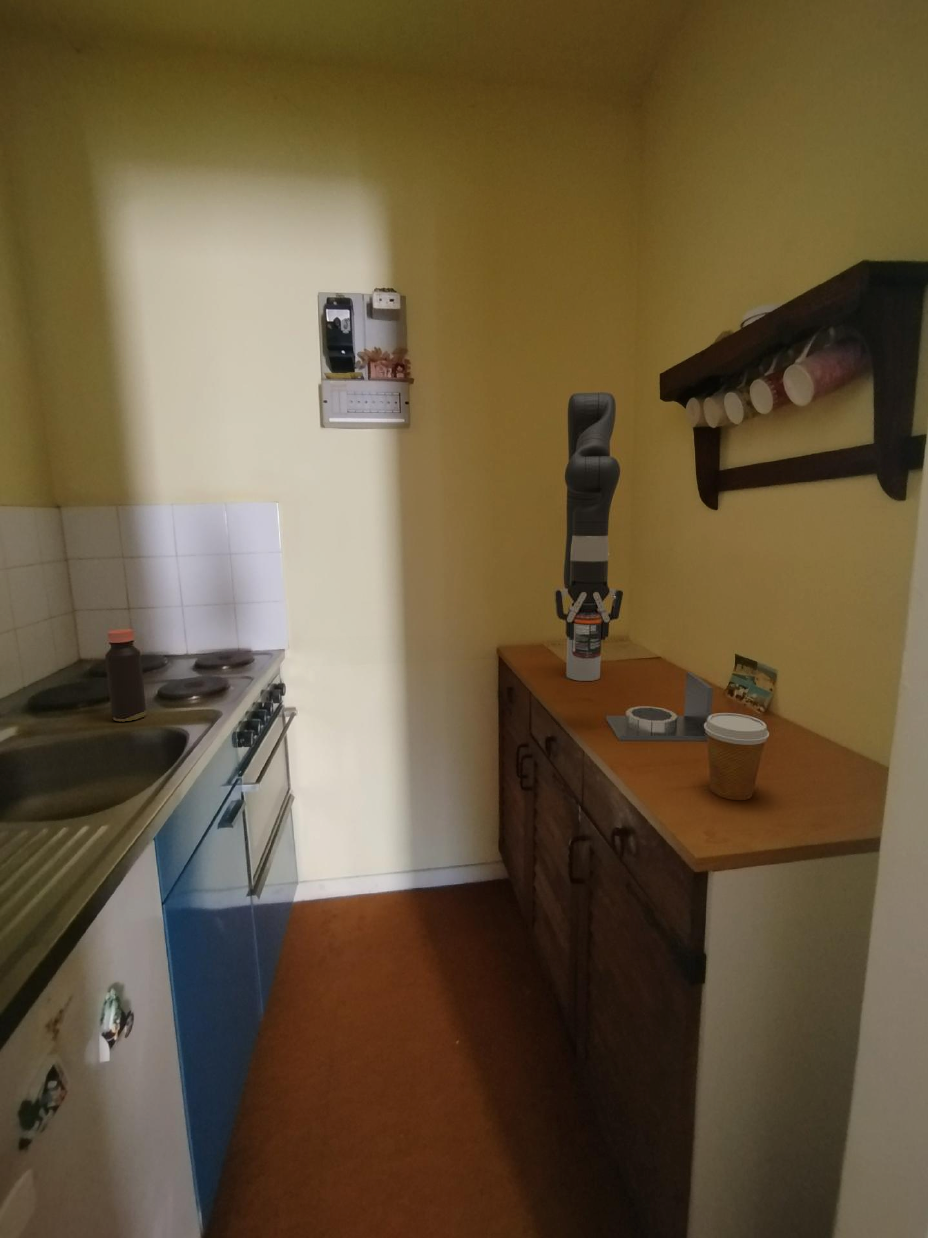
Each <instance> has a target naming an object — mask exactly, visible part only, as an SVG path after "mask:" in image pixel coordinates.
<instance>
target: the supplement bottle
mask: <svg viewBox="0 0 928 1238" xmlns="http://www.w3.org/2000/svg"><path fill="white" fill-rule="evenodd" d="M573 622H574V632H573V640H572V654H573V655H574V656H575V657H578V658H584V659H589V658H597V657H599V656H600V655H602V640H601V631H602V616H601V614H600V613H599V612H598V610H597V604H596V603H582V605H581V606H580V608H579V610H578V612H577V613H576V615H575V617H574V619H573Z"/></svg>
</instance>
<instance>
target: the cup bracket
mask: <svg viewBox="0 0 928 1238" xmlns="http://www.w3.org/2000/svg"><path fill="white" fill-rule="evenodd" d="M685 679H686V680H685V681H686V682H685V695H684V696H685V697H684V709H683V710H684V711H683V715H677V714H676V713H675V712H674V711H671V710H669V709H667V708H663V707H656V706H650V705H649V706H647V705H646V706H644V705H643V706H634V707H630V708H628V709H627V710H626V711H625V715H606V717H605V718H606V719H605V720H606V722H607V723H608V725H609V727H610V728H611V729H612V732H614V734H615V736H616V738H617V740H618V741H643V742H644V741H648V742H649V741H658V742H659V741H661V742H662V741H663V742H665V741H672V742H673V741H676V742H679V741H680V742H685V741H686V742H690V741H691V742H707V733H706V731H705V728H704V724H705V723H706V722H707V719H708V717H709V716H710V715H712V712H713V711H712V710H713V699H714V698H713V697H714V687H713V686H712V685H710V684H708V682H705V680H703V679H702V678H700V677H699V676H697V675H696V674H695V673H694V672H691V671H687V672H686V678H685Z"/></svg>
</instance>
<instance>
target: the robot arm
mask: <svg viewBox="0 0 928 1238" xmlns="http://www.w3.org/2000/svg"><path fill="white" fill-rule="evenodd" d="M616 406H617V404H616V398H615V396H614V395H613V394H611V393H610V392H603V391H602V392H601V391H600V392H579V393H577V392H576V393H573V394H571V396H570V397H569V399H568V405H567V441H568V442H567V443H568V446H567V449H568V462H567V464H566V467H565V471H564V472H565V473H564V482H565V486H566V537H565V538H566V540H565V551H564V552H565V553H564V564H563V585H564V589H563V588H562V589H558V588H557V589H555V590H554V591H553V592H554V593H553V595H554V601H555V602H554V603H555V609H556V616H557V618H558V619H559V620H563V621H565V632H564V633H565V637H566V638H567V639H566V641H567V644H566V671H565V673H566V674H565V675H566V676H565V677H566V678H568V679H570V680H574V681H577V682H578V681H579V682H593V681H597V680H599V679H600V677H601V658H602V657H601V655H602V654H601V655H600V656H599V657H597V658H589V659H584V658H578V657H575V656H574V655H573V654H572V640H573V632H574V622H573V619H574V617H575V615H576V613H577V612H578V610H579V608H580V606H581V605H582V603H596V604H597V610H598V612H599V613H600V614H601V616H602V631H601V641H605V640H606V638H608V637H609V634H610V633H609V632H610V630H609V629H610V622H611V621H613V620H618V619H619V616H620V611H621V607H622V602H623V596H624V592H623V591H622V590H621V589H618V588H616V589H613V588H610V586H609V584H608V580H609V579H608V577H609V576H608V573H609V558H610V551H609V550H610V548H609V547H610V545H609V521H610V511H611V504H612V501H613V499H614V498H613V497H614V495H615V492H616V489H617V486H618V483H619V479H620V478H621V477H620V476H621V467H620V463H619V461H618V459H616V458H615V457H614V456H611V446H610V445H611V438H612V435H613V431H614V427H615V423H616V413H617V411H616V409H617V407H616ZM567 595H569V597H570V598H571V600H572V602H571V604H570V605H569V606H568V609H567V613H565V611H564V605H563V601H564V600H565V599H566V596H567ZM608 596H610V599H611V600H612V602H611V608H610V612H609V613H608V612H607V609H606V606H605V604H604V601H605V600H606V598H608Z"/></svg>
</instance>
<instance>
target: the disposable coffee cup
mask: <svg viewBox="0 0 928 1238" xmlns="http://www.w3.org/2000/svg"><path fill="white" fill-rule="evenodd" d="M704 728H705V731H706V733H707V741H706V743H707V745H706V746H707V758H708V762H707V763H708V771H709V772H708V774H709V789H710V791H711V792H712V793H713V794H715V796H718V797H721V798H723V799H727V800H730V801H731V800H732V801H745V800H748V799H751V798H752V797H753V793H754V788H755V785H756V781H757V776H758V772H759V768H760V765H761V764H760V763H761V759H762V755H763V751H764V747H765V742H767V740H768V738H769V736H770V732H769V731H768V728H767V724H766V723H765V722H764V721H763V720H761V719H759V718H756V717H753V716H750V715H747V714H740V713H731V712H719V713H713V714H711V715H710V716H709V717H708V719H707V722H706V723H705V724H704Z"/></svg>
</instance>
